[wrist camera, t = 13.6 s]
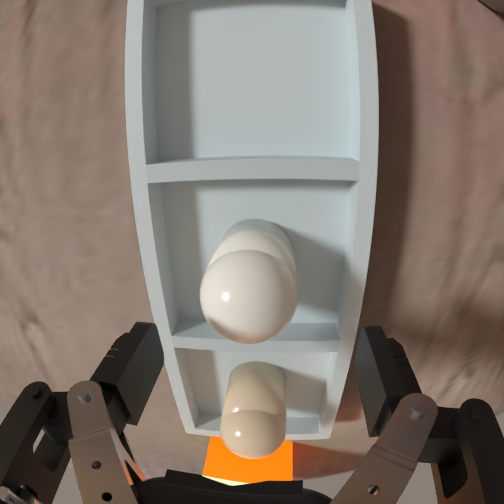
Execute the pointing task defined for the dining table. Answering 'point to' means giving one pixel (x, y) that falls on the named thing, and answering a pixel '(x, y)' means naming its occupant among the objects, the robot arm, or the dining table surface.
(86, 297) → the dining table surface
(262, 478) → the orange juice
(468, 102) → the dining table surface
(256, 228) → the cream egg
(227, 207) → the white divided tray
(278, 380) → the tan egg
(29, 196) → the dining table surface
